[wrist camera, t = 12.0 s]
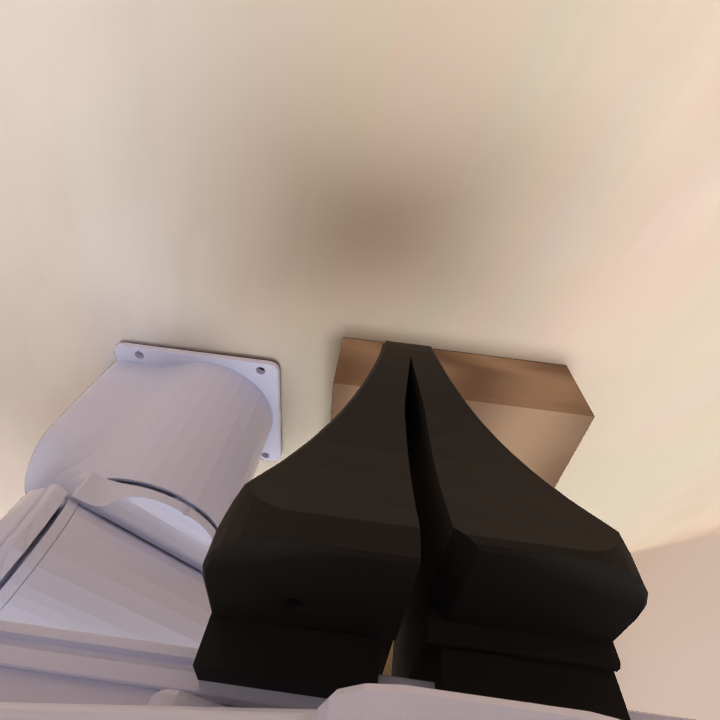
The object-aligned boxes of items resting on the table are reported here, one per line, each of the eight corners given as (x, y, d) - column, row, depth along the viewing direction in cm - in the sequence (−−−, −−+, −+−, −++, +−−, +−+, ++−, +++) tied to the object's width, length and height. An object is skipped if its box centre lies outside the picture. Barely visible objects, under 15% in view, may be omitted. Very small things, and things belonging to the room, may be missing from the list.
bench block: (332, 476, 29) (323, 528, 26) (343, 337, 22) (333, 382, 19) (503, 499, 29) (516, 554, 25) (566, 365, 22) (594, 416, 19)
